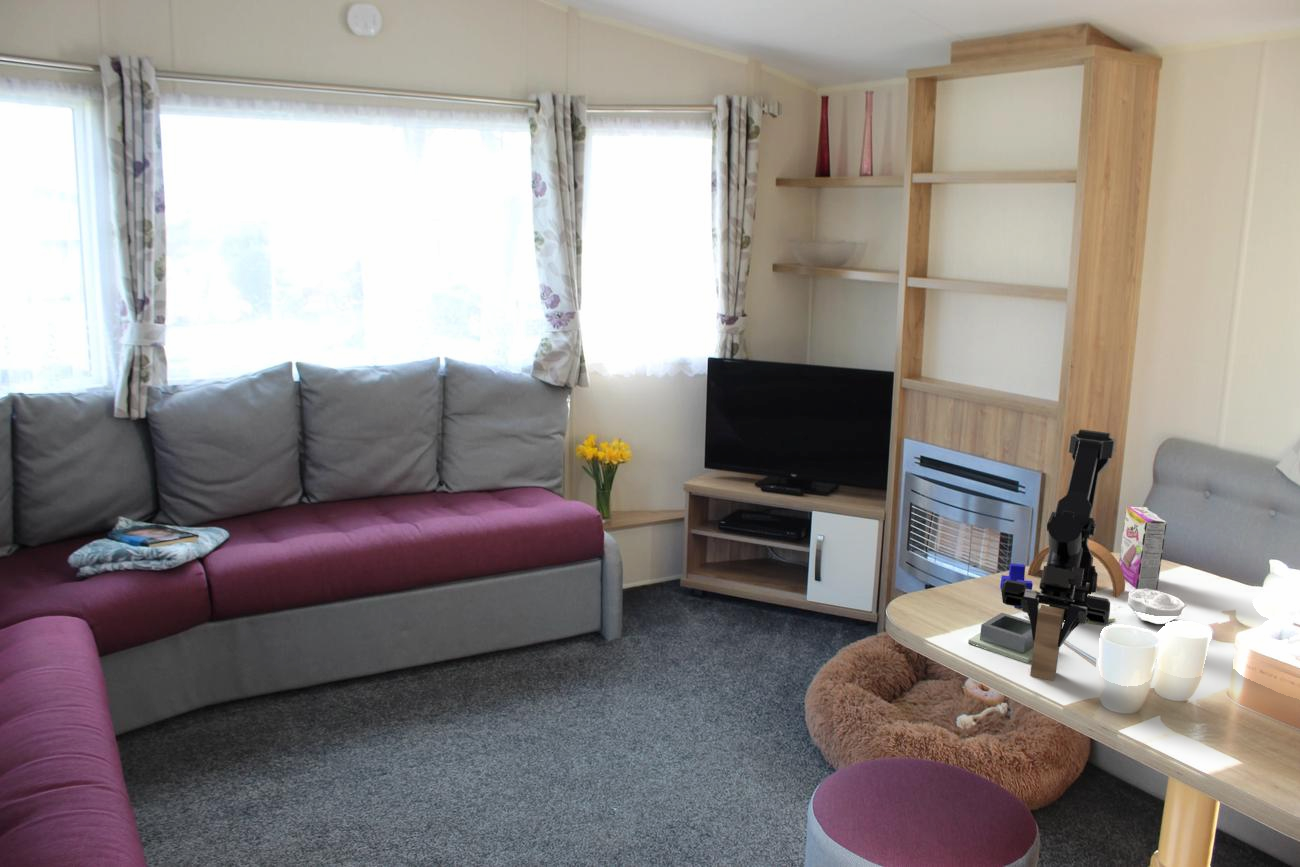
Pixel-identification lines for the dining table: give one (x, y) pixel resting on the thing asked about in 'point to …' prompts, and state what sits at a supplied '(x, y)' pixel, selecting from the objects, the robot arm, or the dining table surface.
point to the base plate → (1002, 650)
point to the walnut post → (1047, 642)
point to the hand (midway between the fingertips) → (1046, 643)
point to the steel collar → (1008, 633)
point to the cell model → (1155, 603)
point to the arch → (1097, 552)
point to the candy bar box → (1142, 547)
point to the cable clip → (1016, 576)
